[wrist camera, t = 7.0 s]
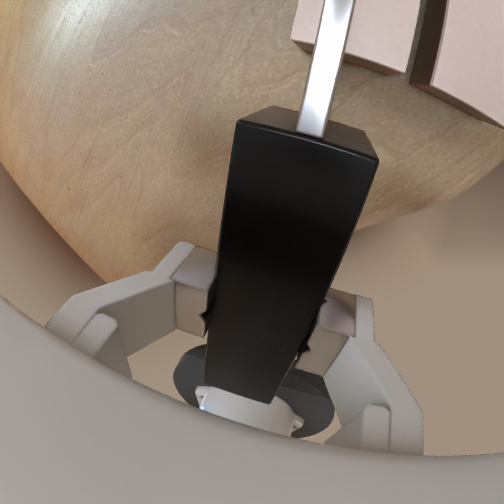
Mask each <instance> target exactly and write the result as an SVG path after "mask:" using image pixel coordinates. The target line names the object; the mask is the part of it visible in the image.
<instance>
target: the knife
mask: <svg viewBox="0 0 504 504" xmlns="http://www.w3.org/2000/svg"><path fill="white" fill-rule="evenodd" d="M355 2H356V0H324V2H323V7H322V12H321V16H320V21H319V26H318V30H317V35H316V39H315V44H314V49H313V53H312V58H311V62H310V67H309V71H308V76H307V80H306V84H305V89H304V93H303V98H302V102H301V106H300V111H299V112H298V111H294V110H290V109H286V108H282V107H277V106H270V107H268V108H265V109H263V110H260V111H258V112H255V113H253V114H250V115H248V116H246V117H243V118H241V119H239V120H238V121H237V122H236V127H235V133H234V139H233V145H232V152H231V158H230V165H229V171H228V178H227V184H226V191H225V198H224V205H223V212H222V220H221V227H220V234H219V242H218V250H217V258H216V266H215V274H214V278H215V287H214V296H213V299H212V301H211V309H212V314H211V322H210V327H209V328H208V337H207V347H206V357H205V368H204V379H203V382H204V383H205V384H207V385H210V386H213V387H216V388H218V389H221V390H224V391H227V392H230V393H233V394H236V395H239V396H242V397H245V398H248V399H251V400H254V401H258V402H261V403H264V404H268V405H269V404H271V402H272V400H273V399H274V397H275V395H276V393H277V392H278V390H279V388H280V386H281V384H282V382H283V381H284V379H285V377H286V375H287V373H288V371H289V370H290V368H291V366H292V364H293V362H294V360H295V358H296V356H297V354H298V352H299V350H300V348H301V346H302V344H303V342H304V340H305V338H306V337H307V335H308V333H309V331H310V327H311V325H312V323H313V321H314V319H315V317H316V315H317V313H318V311H319V309H320V308H321V306H322V303H323V301H324V299H325V297H326V295H327V293H328V290H329V288H330V286H331V283H332V281H333V279H334V277H335V275H336V272H337V270H338V268H339V266H340V263H341V261H342V258H343V256H344V254H345V252H346V249H347V247H348V244H349V242H350V239H351V237H352V235H353V232H354V230H355V227H356V225H357V222H358V219H359V217H360V214H361V212H362V209H363V206H364V204H365V201H366V198H367V196H368V193H369V190H370V188H371V185H372V182H373V179H374V176H375V173H376V171H377V168H378V165H379V158H378V156H377V154H376V152H375V150H374V148H373V146H372V145H371V143H370V141H369V139H368V137H367V135H366V133H365V132H364V131H362V130H360V129H357V128H353V127H350V126H347V125H344V124H341V123H338V122H334V121H331V120H328V119H329V115H330V111H331V107H332V103H333V99H334V95H335V91H336V87H337V83H338V79H339V74H340V70H341V66H342V62H343V57H344V53H345V49H346V44H347V40H348V35H349V31H350V26H351V22H352V17H353V12H354V7H355Z"/></svg>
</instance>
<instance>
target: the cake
mask: <svg viewBox="0 0 504 504" xmlns="http://www.w3.org/2000/svg"><path fill="white" fill-rule="evenodd" d="M323 2H324V0H299V2H298V6H297V11H296V15H295V20H294V24H293V28H292V33H291V37H290V39H291V40H292V41H293V42H295V43H296V44H297V45H298V46H299V47H300V48H301V49H302V50H303V51H307V52H311V53H313V49H314V44H315V39H316V35H317V30H318V26H319V21H320V16H321V12H322V7H323ZM420 2H421V0H356V2H355V7H354V12H353V17H352V22H351V26H350V31H349V35H348V40H347V44H346V49H345V53H344V57H343V61H345V62H349V63H352V64H355V65H358V66H361V67H364V68H367V69H370V70H373V71H376V72H379V73H381V74H384V75H387V76H389V75H395V74H401V73H405V72H406V68H407V64H408V60H409V56H410V52H411V47H412V43H413V38H414V34H415V29H416V24H417V19H418V14H419V8H420ZM410 85H412V86H414V87H416V88H419V89H421V90H423V91H425V92H427V93H430V94H432V95H434V96H436V97H438V98H440V99H442V100H444V101H446V102H448V103H450V104H452V105H454V106H456V107H457V108H459V109H461V110H463V111H465V112H467V113H468V114H470V115H472V116H474V117H475V118H477V119H479V120H481V121H484V122H487V123H489V124H492V125H494V126H497V127H499V128H502V129H504V0H428V2H427V7H426V13H425V19H424V24H423V29H422V34H421V38H420V43H419V47H418V52H417V56H416V60H415V64H414V68H413V72H412V76H411V80H410Z"/></svg>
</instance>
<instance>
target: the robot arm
mask: <svg viewBox="0 0 504 504" xmlns="http://www.w3.org/2000/svg"><path fill="white" fill-rule="evenodd" d="M216 258H217V252H215V251H212V250H209V249H206V248H203V247H200V246H196V245H193V244H190V243H187V242H184V241H180V242H178V243H177V244H176V245H175V246H174V247H173V248H172V249H171V251H170V252H169V253H168V254H167V255H166V256H165V257H164V259H163V260H162V261H161V262H160V263H159V264H158V265H157V266H156V268H155V269H154V270H153V271H152V272H150V271H144V272H141V273H138V274H135V275H132V276H129V277H126V278H123V279H120V280H117V281H114V282H111V283H108V284H106V285H103V286H99V287H97V288H94V289H91V290H88V291H85V292H82V293H79V294H76V295H73V296H72V297H71V298H70V299H69V300H68V301H67V302H66V303H65V304H64V305H63V306H62V307H61V308H60V310H59V311H58V312H57V313H56V314H55V315H54V316H53V317H52V318H51V319H50V321H48V323H47V324H46V325H45V326H44V327H43V326H41V325H40V324H38V323H37V322H36V321H34V320H33V319H32V318H30V317H29V316H27V315H26V314H25V313H23V312H22V311H21V310H19V309H18V308H17V307H15V306H14V305H13V304H12V303H10V302H9V301H8V300H7V299H5V298H4V297H3V296H2V295H0V504H504V452H503V453H492V454H480V455H461V456H424V455H423V411H422V409H421V407H420V406H419V404H418V402H417V401H416V399H415V398H414V396H413V395H412V393H411V392H410V390H409V388H408V387H407V385H406V383H405V382H404V381H403V379H402V377H401V376H400V374H399V373H398V371H397V370H396V368H395V367H394V365H393V364H392V362H391V361H390V359H389V357H388V356H387V354H386V353H385V351H384V350H383V349H382V347H381V345H380V344H377V343H375V335H374V334H375V333H374V312H373V301H372V299H370V298H367V297H363V296H359V295H353V294H350V293H347V292H343V291H340V290H336V289H333V288H329V290H328V293H327V295H326V297H325V299H324V301H323V303H322V306H321V308H320V309H319V311H318V313H317V315H316V317H315V319H314V321H313V323H312V325H311V327H310V331H309V333H308V335H307V337H306V338H305V340H304V342H303V344H302V346H301V348H300V350H299V352H298V355H297V360H296V365H295V368H297V369H301V370H304V371H307V372H311V373H314V374H318V375H321V376H323V379H324V382H325V384H326V387H327V389H328V392H329V395H330V397H331V400H332V402H333V405H334V408H335V410H336V413H337V415H338V418H339V421H340V423H341V426H342V428H341V429H340V430H338V431H337V432H336V433H335V434H333V435H332V436H331V437H330V438H328V439H327V440H326V441H325V442H324V444H321V443H316V442H311V441H307V440H301V439H298V438H294V437H290V436H291V432H293V431H295V430H296V429H298V428H300V427H302V426H303V423H304V419H302V418H301V417H300V416H298V415H296V414H295V413H294V412H293V410H292V409H291V407H290V406H289V405H288V404H287V403H286V402H285V401H283V400H282V399H280V398H279V397H277V396H275V397H274V399H273V400H272V402H271V404H269V405H268V404H264V403H261V402H258V401H254V400H251V399H248V398H245V397H242V396H239V395H236V394H233V393H230V392H227V391H224V390H221V389H218V388H216V387H213V386H212V387H207V386H198V387H197V388H196V391H195V393H196V396H197V399H198V402H199V405H200V408H197V407H194V406H192V405H189V404H187V403H184V402H182V401H179V400H177V399H175V398H172V397H170V396H168V395H165V394H163V393H161V392H159V391H156V390H154V389H152V388H150V387H147V386H146V385H143V384H141V383H139V382H137V381H135V380H133V379H132V374H131V370H130V367H129V364H128V361H127V357H128V356H130V355H131V354H133V353H135V352H137V351H139V350H140V349H142V348H144V347H146V346H148V345H149V344H151V343H153V342H155V341H156V340H158V339H160V338H162V337H163V336H165V335H167V334H169V333H170V332H172V331H174V330H175V328H177V329H180V330H182V331H185V332H188V333H191V334H193V335H196V336H200V337H202V338H204V336H205V334H206V332H207V330H208V328H209V327H210V322H211V314H212V309H211V301H212V299H213V296H214V287H215V278H214V274H215V266H216Z"/></svg>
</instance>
